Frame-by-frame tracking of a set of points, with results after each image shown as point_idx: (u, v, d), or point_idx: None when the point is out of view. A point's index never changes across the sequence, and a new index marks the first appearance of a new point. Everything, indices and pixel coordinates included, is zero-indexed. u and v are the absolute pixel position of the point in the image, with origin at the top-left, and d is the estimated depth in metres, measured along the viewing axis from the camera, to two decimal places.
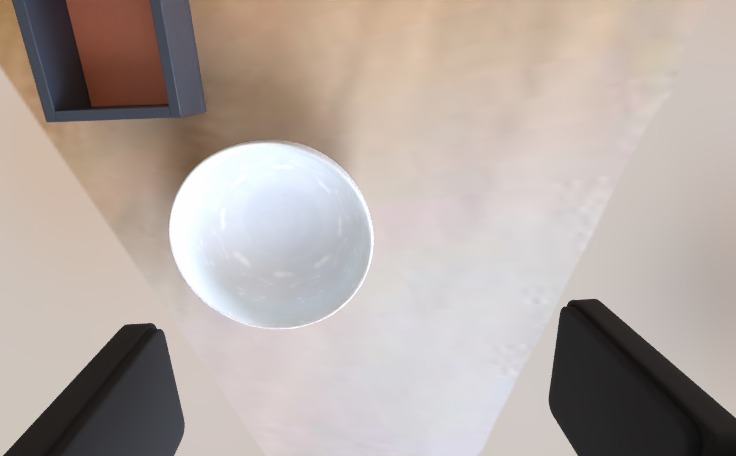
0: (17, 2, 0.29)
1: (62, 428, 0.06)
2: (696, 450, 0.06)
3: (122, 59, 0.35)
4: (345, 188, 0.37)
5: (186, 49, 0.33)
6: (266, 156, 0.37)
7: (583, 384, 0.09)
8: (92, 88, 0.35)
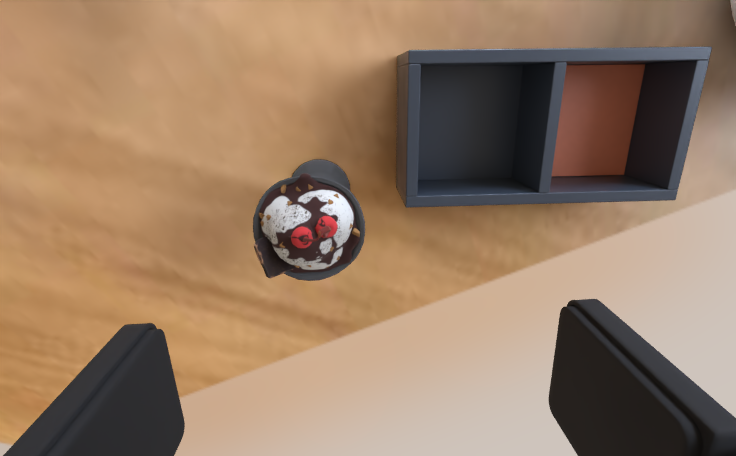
0: (565, 198, 0.29)
1: (62, 428, 0.06)
2: (696, 450, 0.06)
3: (586, 132, 0.33)
4: None
5: None
6: None
7: (583, 384, 0.09)
8: (607, 169, 0.34)
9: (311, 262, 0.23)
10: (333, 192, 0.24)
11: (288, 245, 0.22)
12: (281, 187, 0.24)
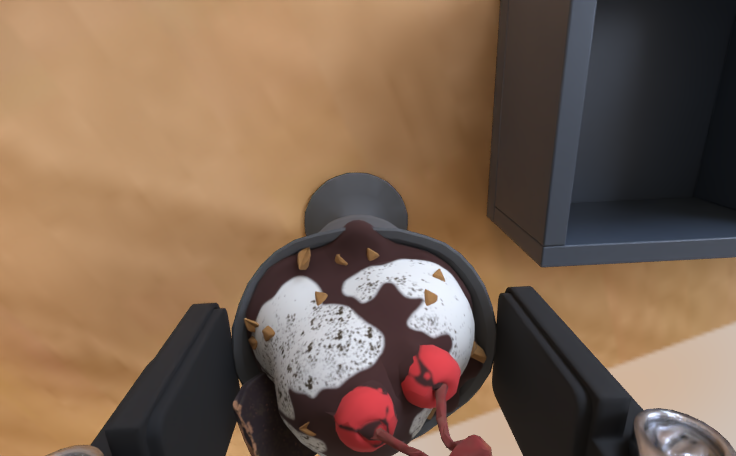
0: None
1: (162, 388, 0.07)
2: (586, 415, 0.07)
3: None
4: None
5: None
6: None
7: (514, 364, 0.09)
8: None
9: None
10: (429, 265, 0.10)
11: (325, 432, 0.08)
12: (297, 253, 0.10)
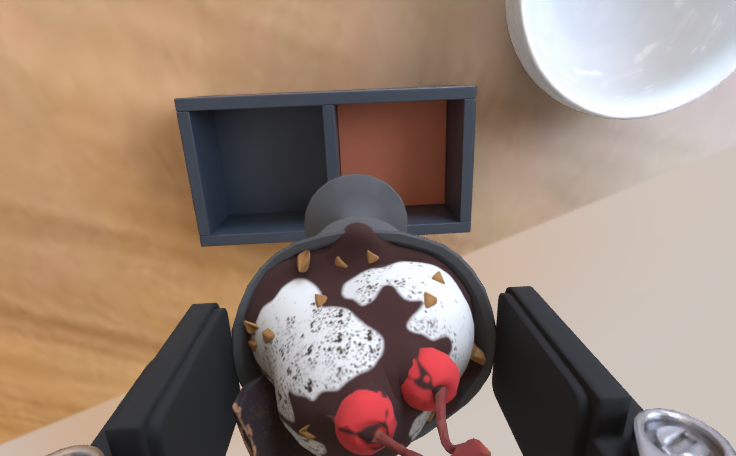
0: None
1: (162, 388, 0.07)
2: (586, 415, 0.07)
3: (399, 164, 0.33)
4: None
5: (394, 88, 0.30)
6: None
7: (514, 364, 0.09)
8: (426, 199, 0.34)
9: None
10: (429, 268, 0.10)
11: (325, 435, 0.08)
12: (297, 255, 0.10)
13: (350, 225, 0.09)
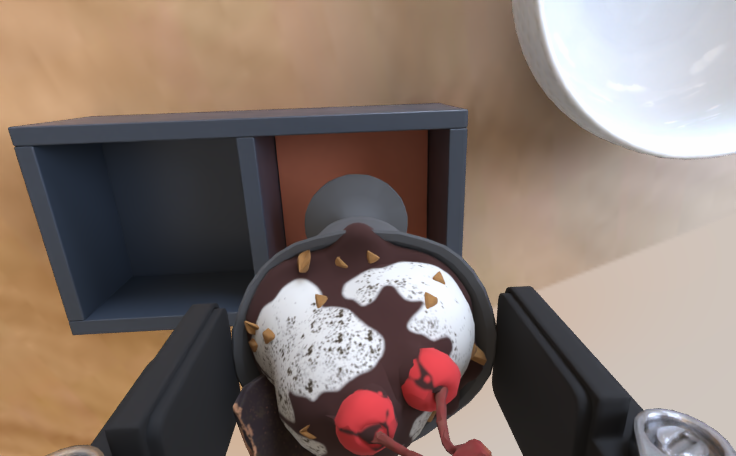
0: None
1: (162, 388, 0.07)
2: (586, 415, 0.07)
3: None
4: None
5: (351, 108, 0.21)
6: None
7: (514, 364, 0.09)
8: None
9: None
10: (429, 268, 0.10)
11: (325, 435, 0.08)
12: (297, 256, 0.10)
13: (350, 225, 0.09)
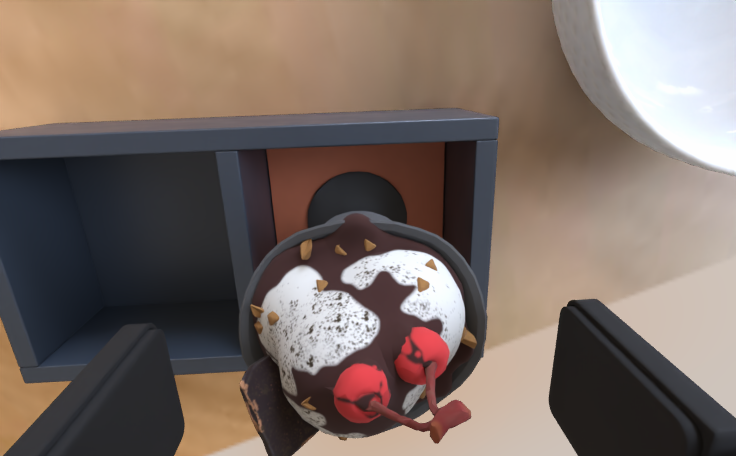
0: None
1: (62, 428, 0.06)
2: (696, 450, 0.06)
3: None
4: None
5: (355, 115, 0.18)
6: None
7: (583, 384, 0.09)
8: None
9: None
10: (423, 256, 0.10)
11: (325, 406, 0.09)
12: (300, 244, 0.11)
13: (349, 215, 0.10)
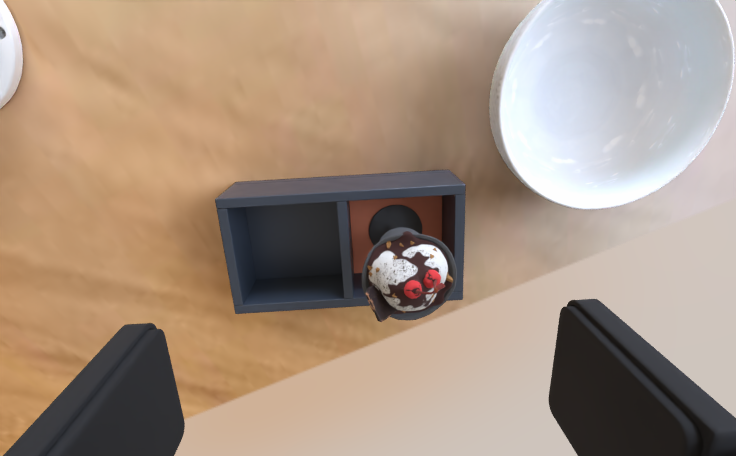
0: (368, 302, 0.35)
1: (62, 428, 0.06)
2: (696, 450, 0.06)
3: None
4: (551, 11, 0.31)
5: (396, 178, 0.35)
6: (502, 107, 0.34)
7: (583, 384, 0.09)
8: None
9: (417, 308, 0.27)
10: (431, 246, 0.28)
11: (400, 295, 0.26)
12: (385, 242, 0.28)
13: (404, 232, 0.28)
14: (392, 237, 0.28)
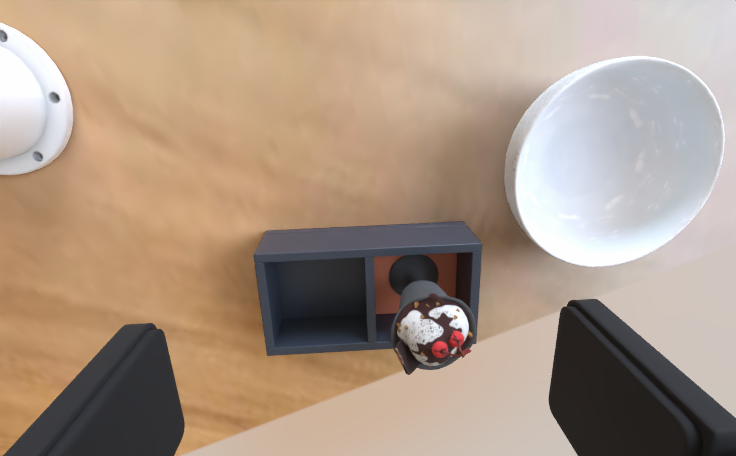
0: (389, 345, 0.38)
1: (62, 428, 0.06)
2: (696, 450, 0.06)
3: None
4: None
5: (417, 232, 0.39)
6: None
7: (583, 384, 0.09)
8: None
9: (441, 363, 0.30)
10: (454, 306, 0.31)
11: (428, 354, 0.29)
12: (413, 302, 0.31)
13: (431, 294, 0.31)
14: (419, 298, 0.31)
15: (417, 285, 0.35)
